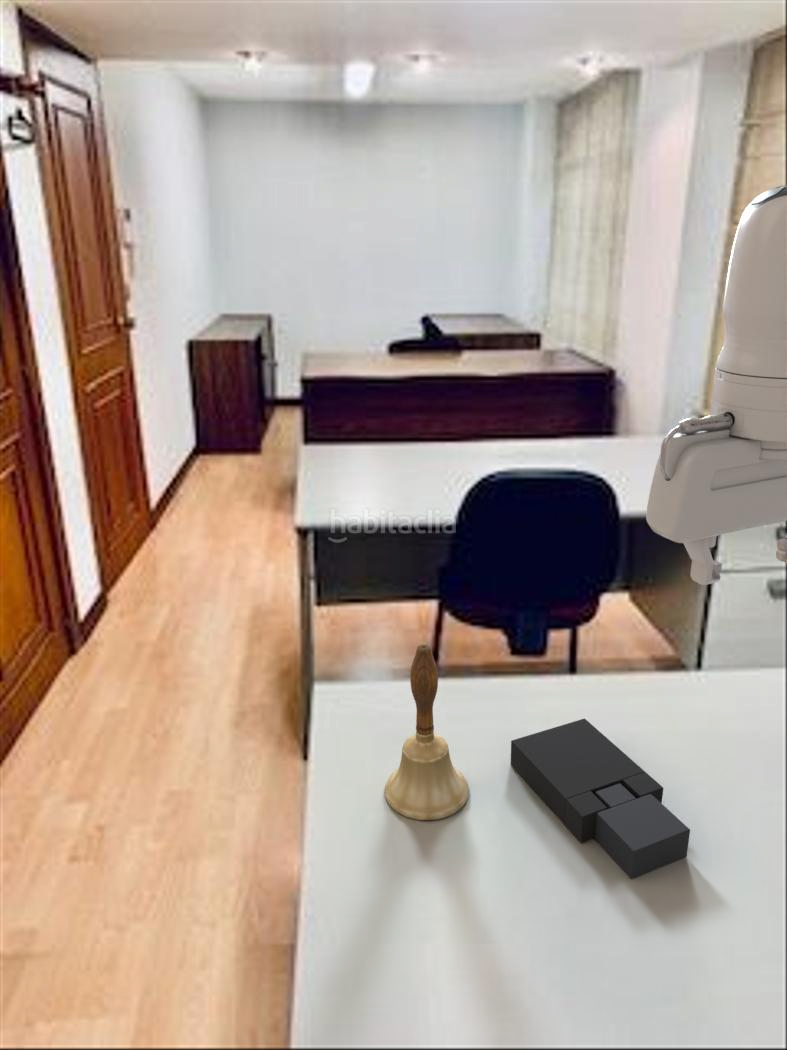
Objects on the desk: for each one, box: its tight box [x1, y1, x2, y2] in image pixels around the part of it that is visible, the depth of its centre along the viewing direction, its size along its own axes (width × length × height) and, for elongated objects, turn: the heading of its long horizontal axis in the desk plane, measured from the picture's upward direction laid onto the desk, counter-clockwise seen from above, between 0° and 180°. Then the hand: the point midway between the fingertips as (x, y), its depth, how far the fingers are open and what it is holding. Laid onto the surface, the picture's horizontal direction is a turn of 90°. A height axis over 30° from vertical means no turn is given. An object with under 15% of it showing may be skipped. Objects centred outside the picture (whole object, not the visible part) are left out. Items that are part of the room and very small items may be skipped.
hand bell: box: [384, 643, 470, 821], centre depth 72 cm, size 8×8×16 cm
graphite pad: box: [594, 784, 691, 880], centre depth 67 cm, size 6×7×3 cm
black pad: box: [510, 718, 664, 844], centre depth 74 cm, size 9×12×3 cm
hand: (748, 570), depth 63 cm, fingers open, 8 cm apart
